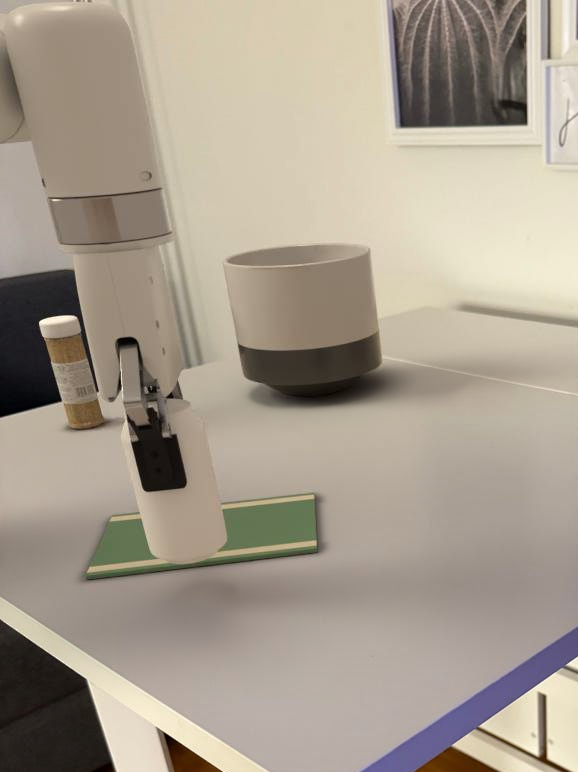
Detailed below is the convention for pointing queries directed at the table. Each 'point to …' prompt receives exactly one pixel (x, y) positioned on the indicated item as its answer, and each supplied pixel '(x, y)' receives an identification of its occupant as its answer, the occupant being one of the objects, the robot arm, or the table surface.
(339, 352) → the planter
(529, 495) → the table surface
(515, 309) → the table surface
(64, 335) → the sprinkles bottle
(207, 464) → the beverage can
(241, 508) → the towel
